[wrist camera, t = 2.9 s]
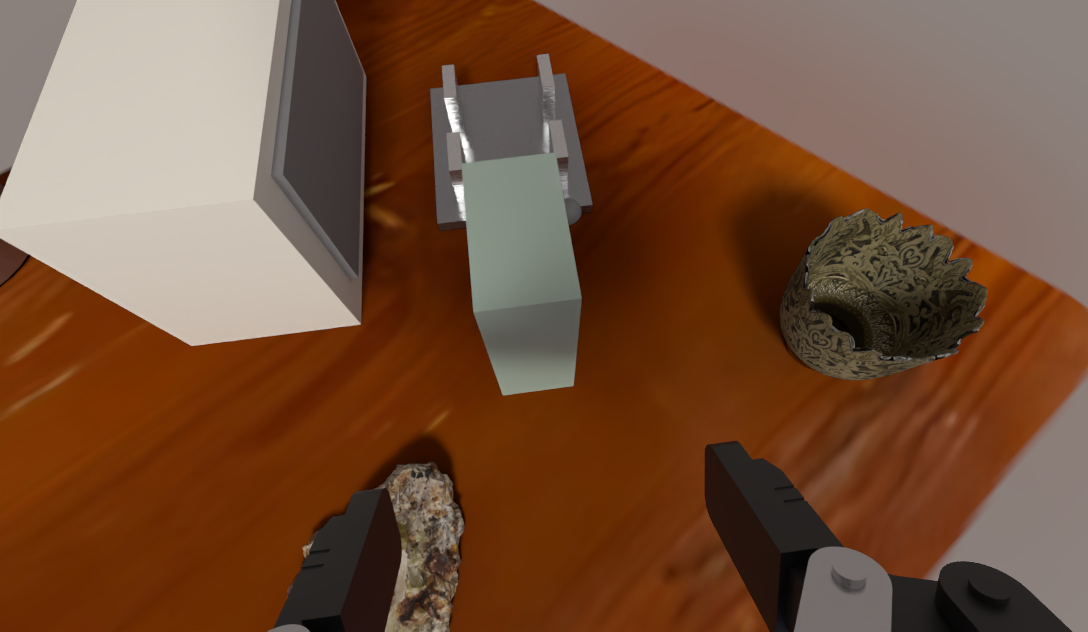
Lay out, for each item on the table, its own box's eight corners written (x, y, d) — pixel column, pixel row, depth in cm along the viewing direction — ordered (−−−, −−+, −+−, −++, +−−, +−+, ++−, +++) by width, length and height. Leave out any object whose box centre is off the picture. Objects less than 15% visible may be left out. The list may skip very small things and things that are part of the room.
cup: (805, 266, 32) (879, 181, 24) (908, 354, 29) (1025, 288, 22) (720, 336, 30) (772, 267, 23) (822, 436, 27) (917, 394, 20)
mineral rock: (399, 757, 20) (215, 670, 20) (400, 716, 24) (247, 642, 24) (516, 499, 25) (367, 422, 24) (501, 499, 29) (373, 433, 28)
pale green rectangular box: (502, 395, 29) (473, 312, 19) (491, 285, 32) (461, 163, 22) (591, 383, 29) (608, 294, 19) (572, 275, 32) (578, 149, 22)
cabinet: (191, 346, 30) (-13, 231, 20) (234, 91, 39) (110, -86, 28) (369, 323, 31) (265, 197, 20) (372, 76, 40) (302, -106, 29)
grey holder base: (439, 230, 33) (426, 193, 30) (432, 97, 38) (420, 52, 35) (591, 212, 34) (595, 173, 30) (564, 82, 39) (565, 36, 35)
